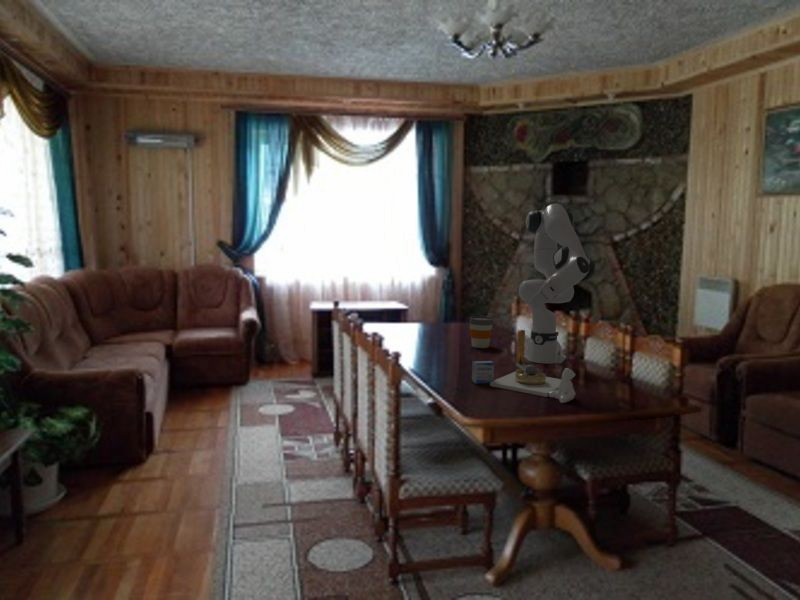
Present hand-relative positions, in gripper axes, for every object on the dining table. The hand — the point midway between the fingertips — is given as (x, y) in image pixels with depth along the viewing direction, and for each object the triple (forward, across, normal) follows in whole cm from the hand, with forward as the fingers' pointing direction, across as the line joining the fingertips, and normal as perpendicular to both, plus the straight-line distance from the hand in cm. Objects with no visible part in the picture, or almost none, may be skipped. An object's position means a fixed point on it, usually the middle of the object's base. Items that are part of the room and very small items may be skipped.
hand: (532, 304), depth 261 cm
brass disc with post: (+14, +18, +22) cm, 32 cm away
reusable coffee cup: (+61, -32, 0) cm, 69 cm away
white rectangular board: (+12, +22, +25) cm, 35 cm away
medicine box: (+24, +31, +12) cm, 41 cm away
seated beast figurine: (-3, +32, +35) cm, 47 cm away
